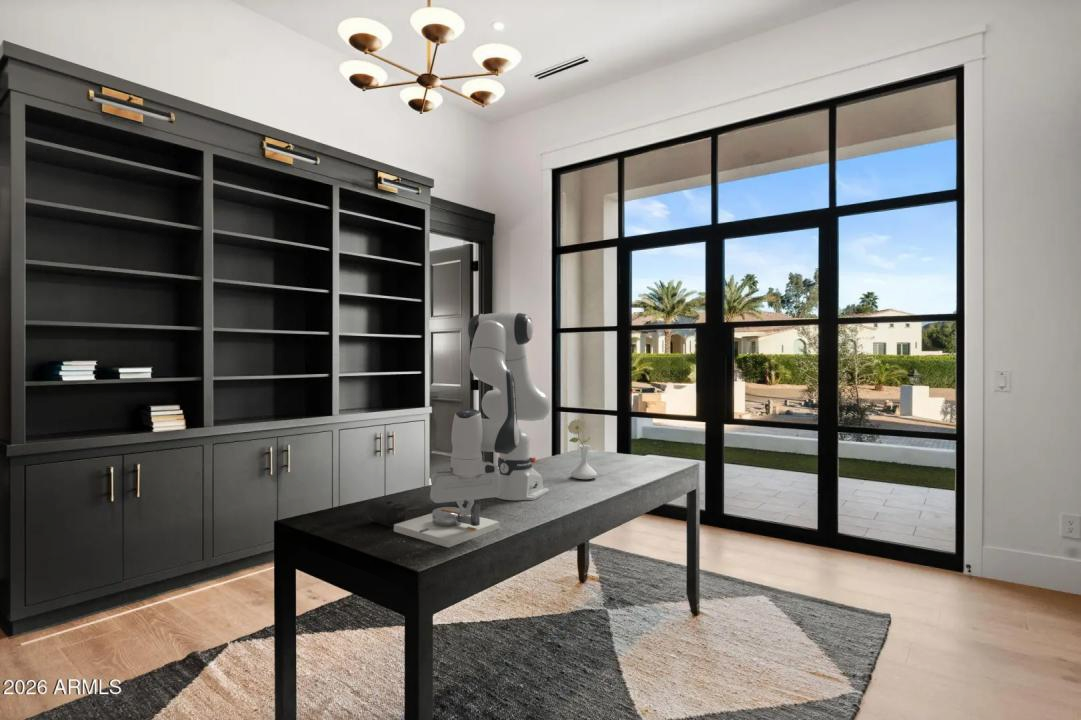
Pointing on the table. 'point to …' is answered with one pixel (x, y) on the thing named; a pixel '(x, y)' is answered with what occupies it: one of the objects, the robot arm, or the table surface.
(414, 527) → the panel
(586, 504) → the table surface
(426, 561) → the table surface
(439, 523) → the silver metal piece
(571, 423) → the flower in vase
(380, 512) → the end cap
